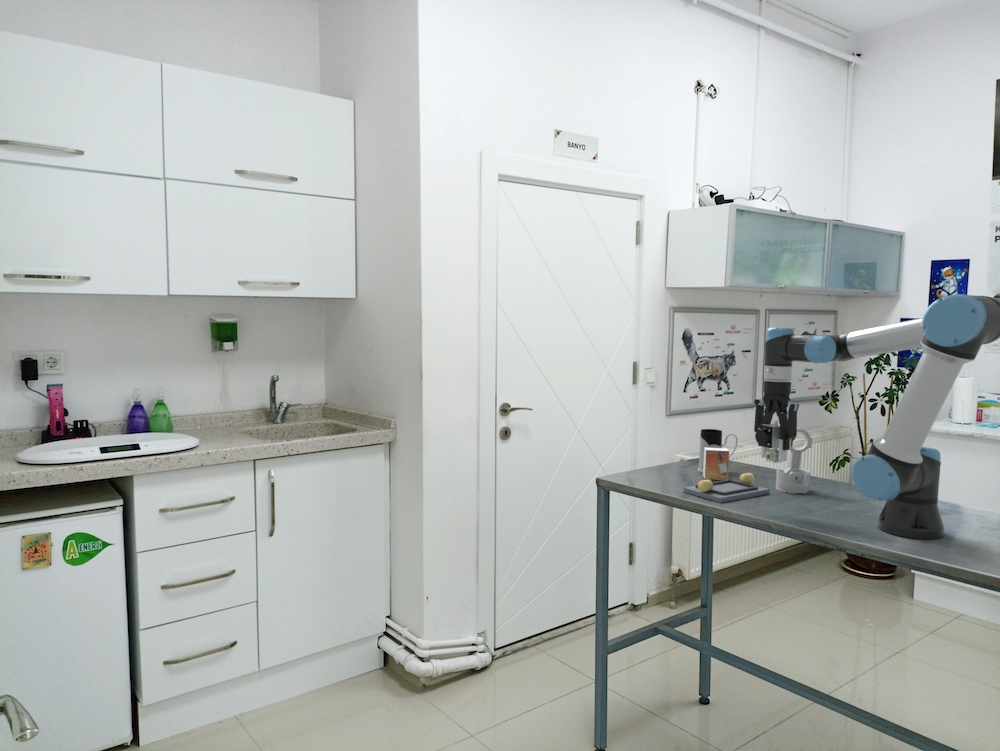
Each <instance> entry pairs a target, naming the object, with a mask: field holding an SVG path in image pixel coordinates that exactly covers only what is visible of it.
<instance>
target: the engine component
mask: <svg viewBox="0 0 1000 751" xmlns="http://www.w3.org/2000/svg"><path fill="white" fill-rule="evenodd" d="M797 433H802V435H804V438H805V440H804V444H803V445H802V446H800V447H799V448H794V447H793V446H789V450H788V451H790V454H789V460H788V467H787V468H786V469H784V470H783V471H780V469H779V468H776V480H775V489H776V490H777V489H778V490H777V491H779V492H782V493H786V492H788V494H794V493H804V494H807V493H806V492H808V491H809V492H810V474H811V472H810V471H809V470H808V469H804V468H801V462H802V453H804V452H806V451H807V450H808V449H811V448H812V445H813V437H811V434H810V433H809V432H808V431H807V430H806V429H803V428H802V427H801V428H800V427H797ZM809 492H808V493H809Z"/></svg>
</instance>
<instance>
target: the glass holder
mask: <svg viewBox="0 0 1000 751" xmlns="http://www.w3.org/2000/svg"><path fill="white" fill-rule="evenodd" d="M730 436H733V437H735V445H734V448H733V450H732V452H731V453H729V458H731V457H732V456H733V455H734V453H735V451H736V450H737V446H738V437H737V436H736V435H735V434H733V433H729V434H727V435H726V436H725V439H724V444H722V442H723V431H722V430H720V429H716V428H715V429H714V428H704V429H700V437H699V456H698V457H699V458H698V468H697V471H698V472H699V471H700V473H702V472H703V464H704V447H707V448H723V447H724V446H726V445H727V440H728V438H729V437H730Z"/></svg>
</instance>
